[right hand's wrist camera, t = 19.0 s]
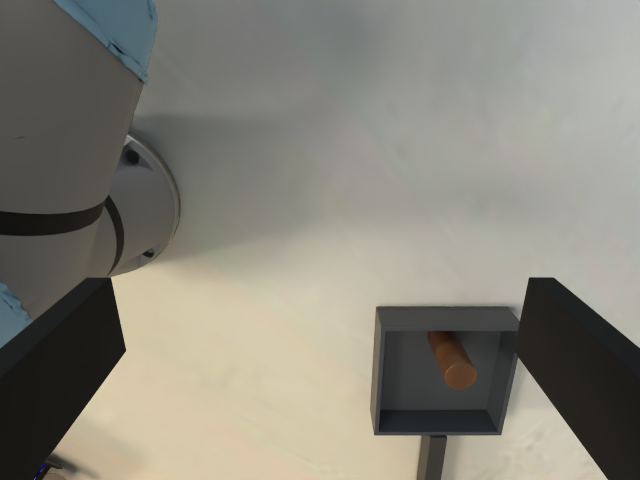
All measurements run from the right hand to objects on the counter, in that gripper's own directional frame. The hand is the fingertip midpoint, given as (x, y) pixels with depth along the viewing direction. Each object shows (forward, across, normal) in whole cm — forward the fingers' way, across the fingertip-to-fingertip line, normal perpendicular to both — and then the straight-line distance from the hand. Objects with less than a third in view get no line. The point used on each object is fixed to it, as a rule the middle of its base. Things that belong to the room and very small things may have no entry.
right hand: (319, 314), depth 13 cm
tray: (+29, +14, -31) cm, 45 cm away
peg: (+28, +14, -20) cm, 37 cm away
